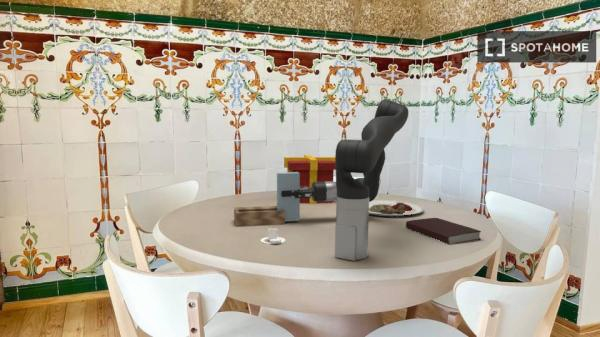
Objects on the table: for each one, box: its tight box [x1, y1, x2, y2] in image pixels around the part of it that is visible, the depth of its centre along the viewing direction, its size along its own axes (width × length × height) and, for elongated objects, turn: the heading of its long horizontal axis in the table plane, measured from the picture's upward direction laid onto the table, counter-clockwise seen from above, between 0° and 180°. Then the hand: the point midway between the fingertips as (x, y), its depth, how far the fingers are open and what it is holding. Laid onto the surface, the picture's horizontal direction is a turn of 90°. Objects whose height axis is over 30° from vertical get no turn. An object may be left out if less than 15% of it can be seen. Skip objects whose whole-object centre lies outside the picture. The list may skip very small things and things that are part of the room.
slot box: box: [233, 205, 286, 227], centre depth 164 cm, size 18×9×5 cm, turn 102°
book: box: [405, 217, 482, 245], centre depth 150 cm, size 14×22×4 cm, turn 23°
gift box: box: [283, 154, 336, 205], centre depth 209 cm, size 25×25×20 cm
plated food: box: [369, 199, 425, 217], centre depth 187 cm, size 30×30×3 cm
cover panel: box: [276, 172, 301, 222], centre depth 164 cm, size 8×3×18 cm, turn 103°
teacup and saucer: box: [260, 227, 286, 245], centre depth 140 cm, size 9×8×4 cm
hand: (280, 193), depth 163 cm, fingers closed on cover panel, 3 cm apart
